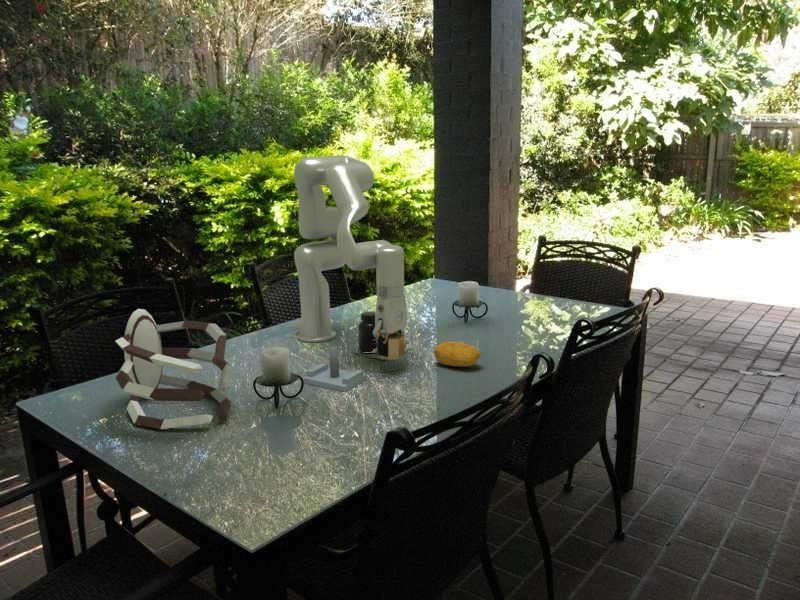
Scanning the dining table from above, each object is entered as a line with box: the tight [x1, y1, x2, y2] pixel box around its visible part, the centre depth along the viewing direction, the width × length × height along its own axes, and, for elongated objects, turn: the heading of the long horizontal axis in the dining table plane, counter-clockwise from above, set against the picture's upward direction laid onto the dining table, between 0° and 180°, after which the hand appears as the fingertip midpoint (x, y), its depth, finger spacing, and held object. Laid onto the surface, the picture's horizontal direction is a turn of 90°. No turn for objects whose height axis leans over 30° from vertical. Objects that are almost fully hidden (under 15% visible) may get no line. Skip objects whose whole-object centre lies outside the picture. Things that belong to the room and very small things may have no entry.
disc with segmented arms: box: [115, 308, 233, 430], centre depth 160 cm, size 24×27×35 cm
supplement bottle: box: [357, 311, 377, 353], centre depth 202 cm, size 7×7×12 cm
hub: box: [376, 330, 405, 361], centre depth 185 cm, size 7×7×6 cm
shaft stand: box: [302, 346, 368, 393], centre depth 178 cm, size 14×10×10 cm
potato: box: [433, 341, 482, 368], centre depth 188 cm, size 8×14×7 cm, turn 56°
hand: (390, 351), depth 185 cm, fingers closed on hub, 7 cm apart
